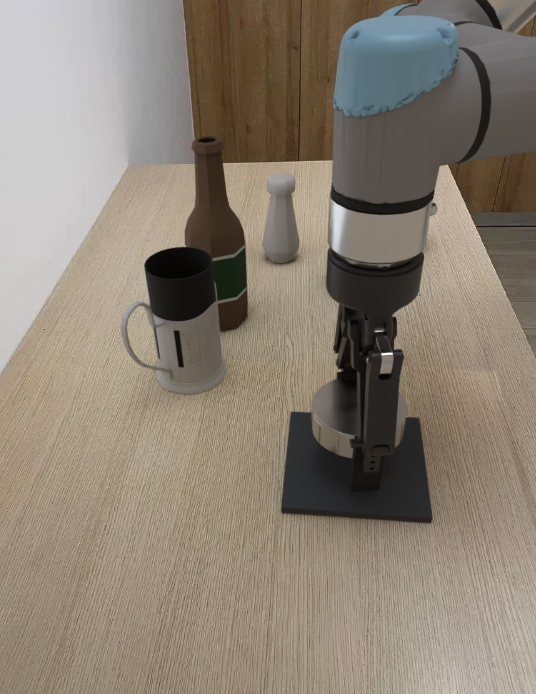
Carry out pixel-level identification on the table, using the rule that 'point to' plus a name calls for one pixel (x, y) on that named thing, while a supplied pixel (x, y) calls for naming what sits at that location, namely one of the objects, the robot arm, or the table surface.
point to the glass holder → (182, 320)
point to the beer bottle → (218, 232)
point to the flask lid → (343, 416)
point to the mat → (334, 478)
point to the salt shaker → (280, 220)
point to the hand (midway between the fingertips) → (355, 452)
